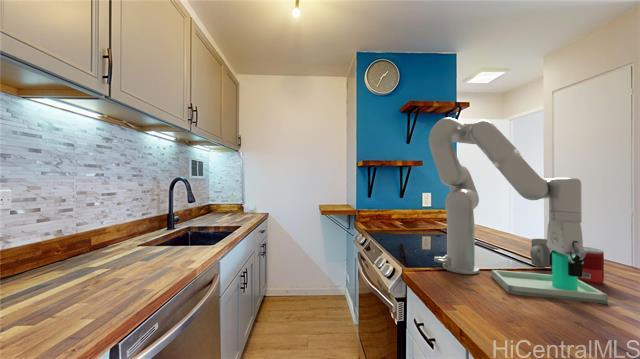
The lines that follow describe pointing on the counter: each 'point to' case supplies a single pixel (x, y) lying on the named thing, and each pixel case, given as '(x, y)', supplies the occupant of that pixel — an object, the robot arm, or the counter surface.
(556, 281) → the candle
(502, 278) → the tray
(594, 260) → the canned food
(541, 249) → the coffee mug
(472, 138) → the robot arm
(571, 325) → the counter surface
